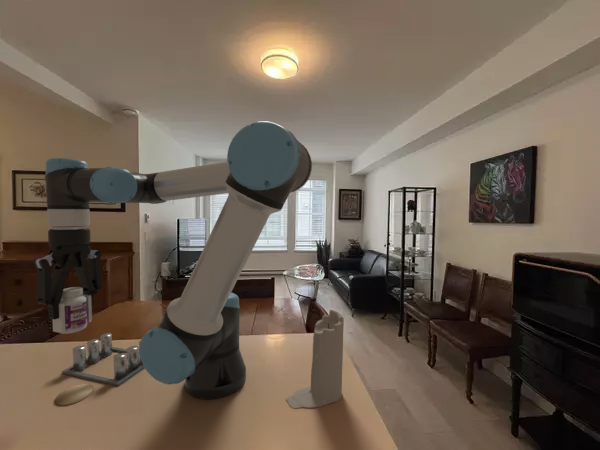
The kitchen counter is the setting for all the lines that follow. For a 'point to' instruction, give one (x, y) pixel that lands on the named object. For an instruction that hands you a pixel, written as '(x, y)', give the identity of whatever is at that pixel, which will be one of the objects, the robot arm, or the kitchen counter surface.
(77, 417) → the kitchen counter surface
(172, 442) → the kitchen counter surface
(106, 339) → the spacers
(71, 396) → the cork coaster
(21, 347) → the kitchen counter surface
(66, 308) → the pill bottle
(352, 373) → the kitchen counter surface
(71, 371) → the parts tray rim
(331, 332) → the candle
